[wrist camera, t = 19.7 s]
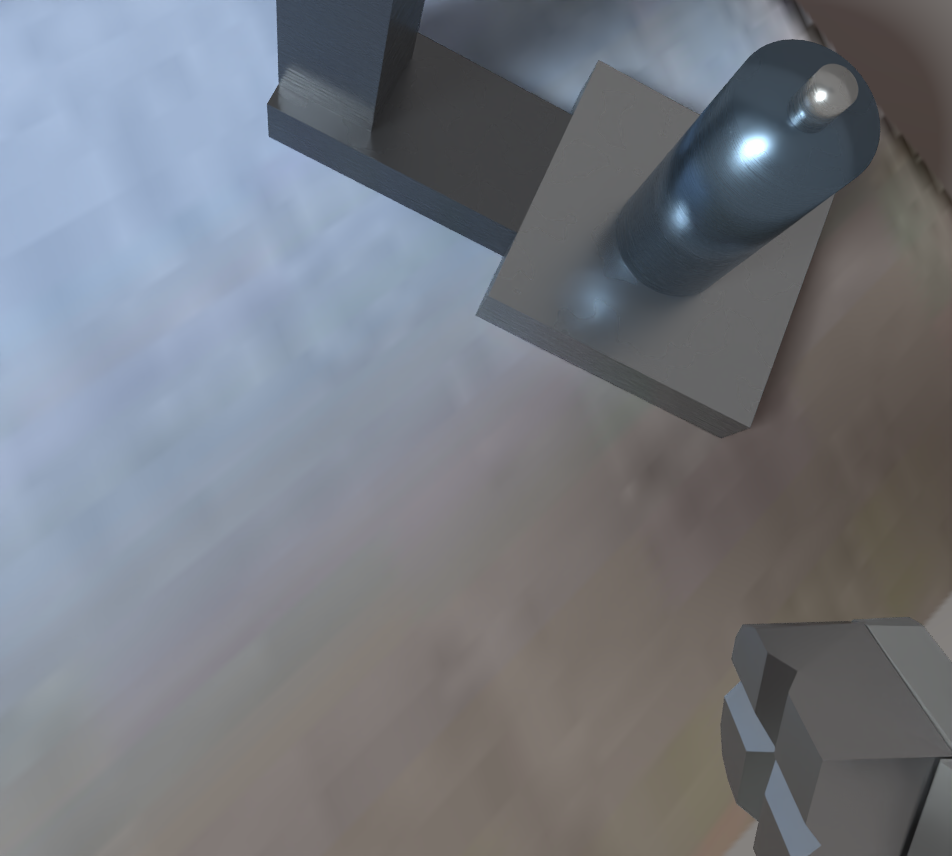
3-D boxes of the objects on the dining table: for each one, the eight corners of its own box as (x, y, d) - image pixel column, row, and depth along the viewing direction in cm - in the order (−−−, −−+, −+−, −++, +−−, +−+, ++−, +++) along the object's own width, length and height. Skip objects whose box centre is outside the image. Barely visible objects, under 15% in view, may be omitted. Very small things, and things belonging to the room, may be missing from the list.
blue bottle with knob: (597, 203, 36) (731, 30, 25) (698, 170, 38) (868, -8, 26) (645, 312, 36) (803, 185, 25) (746, 275, 37) (939, 138, 26)
